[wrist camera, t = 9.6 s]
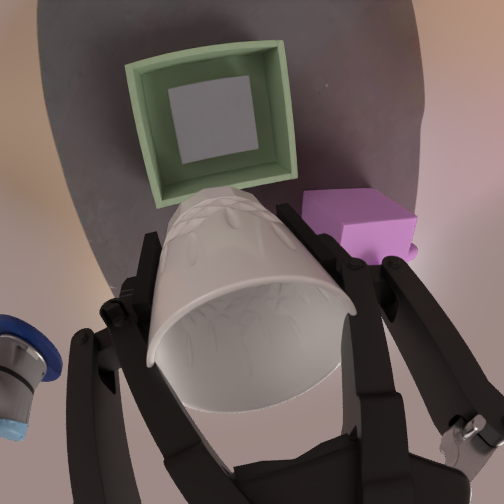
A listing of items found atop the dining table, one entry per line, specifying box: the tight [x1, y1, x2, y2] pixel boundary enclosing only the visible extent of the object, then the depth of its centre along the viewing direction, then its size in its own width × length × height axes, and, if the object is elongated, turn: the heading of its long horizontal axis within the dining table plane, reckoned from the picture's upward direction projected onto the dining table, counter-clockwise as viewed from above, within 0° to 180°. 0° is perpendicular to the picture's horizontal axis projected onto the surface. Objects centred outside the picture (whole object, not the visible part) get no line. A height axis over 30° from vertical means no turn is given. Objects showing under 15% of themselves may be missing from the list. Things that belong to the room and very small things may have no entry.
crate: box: [125, 40, 298, 209], centre depth 29 cm, size 17×17×7 cm
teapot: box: [302, 188, 418, 265], centre depth 39 cm, size 15×25×14 cm, turn 90°
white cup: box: [146, 186, 357, 414], centre depth 13 cm, size 8×8×10 cm
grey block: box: [168, 75, 259, 164], centre depth 29 cm, size 9×9×4 cm
